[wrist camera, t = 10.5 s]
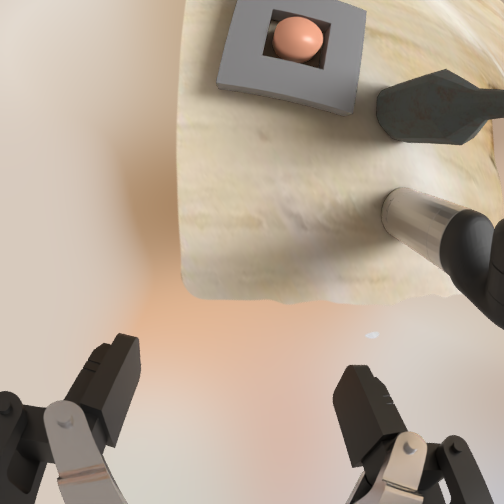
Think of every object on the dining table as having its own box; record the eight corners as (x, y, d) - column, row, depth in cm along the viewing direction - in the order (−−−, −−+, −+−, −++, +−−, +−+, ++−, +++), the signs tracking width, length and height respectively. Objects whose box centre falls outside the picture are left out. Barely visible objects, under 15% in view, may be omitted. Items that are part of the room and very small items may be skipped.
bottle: (389, 150, 41) (536, 171, 13) (363, 98, 38) (502, 58, 10) (429, 129, 39) (566, 138, 11) (406, 80, 36) (538, 49, 8)
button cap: (319, 33, 33) (325, 24, 29) (313, 67, 36) (319, 60, 32) (276, 22, 33) (279, 12, 29) (268, 57, 35) (271, 49, 31)
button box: (358, 19, 32) (366, 10, 29) (343, 116, 39) (352, 113, 35) (243, -9, 31) (243, -20, 27) (218, 88, 37) (216, 82, 34)
